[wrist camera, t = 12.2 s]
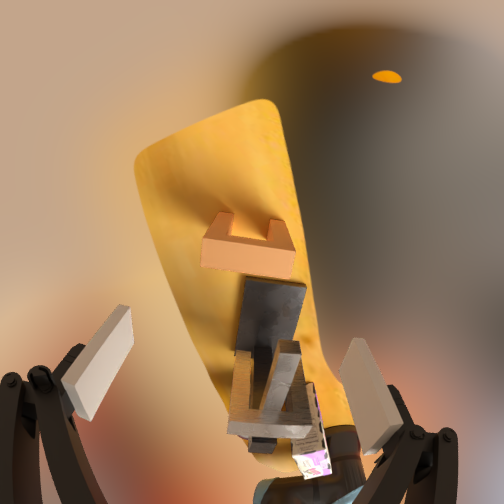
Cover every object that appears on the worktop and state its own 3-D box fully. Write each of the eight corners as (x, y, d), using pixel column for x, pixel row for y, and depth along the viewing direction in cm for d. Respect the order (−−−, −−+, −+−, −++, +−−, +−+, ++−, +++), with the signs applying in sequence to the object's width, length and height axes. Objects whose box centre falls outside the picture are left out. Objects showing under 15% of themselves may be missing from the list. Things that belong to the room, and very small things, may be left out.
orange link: (280, 241, 38) (289, 279, 27) (217, 232, 38) (200, 266, 27) (284, 221, 37) (295, 251, 26) (219, 211, 37) (202, 237, 26)
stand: (285, 357, 46) (294, 453, 27) (234, 351, 45) (224, 449, 27) (307, 275, 40) (341, 370, 21) (247, 266, 40) (239, 363, 21)
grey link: (295, 371, 37) (304, 438, 25) (234, 364, 36) (227, 433, 25) (300, 356, 36) (312, 425, 24) (236, 349, 35) (229, 420, 24)
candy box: (321, 415, 53) (332, 474, 37) (297, 421, 53) (303, 480, 38) (314, 381, 48) (327, 450, 33) (285, 387, 49) (291, 457, 33)
